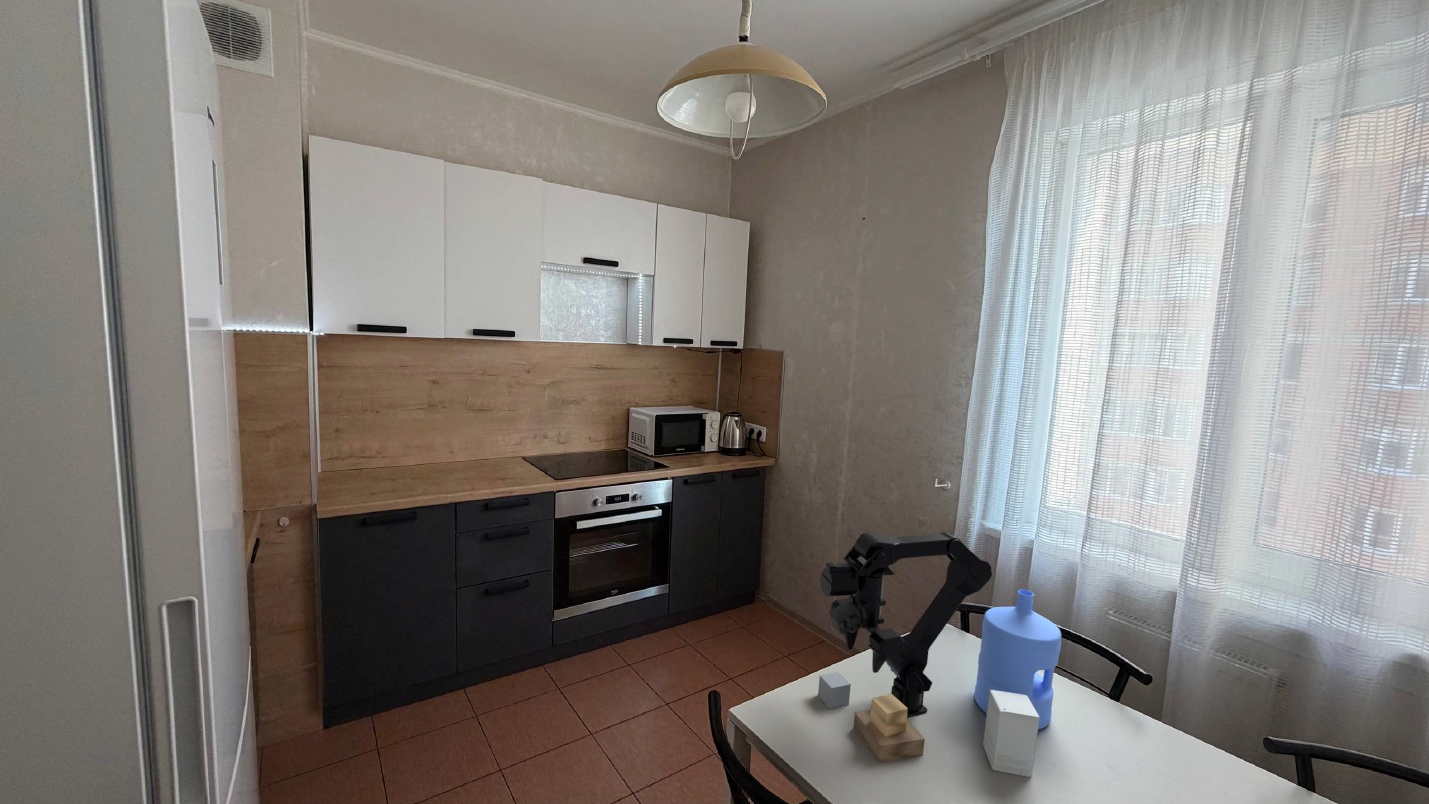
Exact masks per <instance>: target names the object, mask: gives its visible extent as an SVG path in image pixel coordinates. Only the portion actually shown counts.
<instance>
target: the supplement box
mask: <svg viewBox="0 0 1429 804" xmlns="http://www.w3.org/2000/svg"><path fill="white" fill-rule="evenodd" d="M1039 718H1040V717H1039V715H1038V714H1037V712H1036V710H1035V708H1034V707H1033V705H1032V703H1031V701H1030V700H1029V698H1028V696H1027V695H1022V694H1016V693H1010V692H1003V691H996V690H990V693H989V701H988V709H987V714H986V719H985V727H984V735H983V743H982V746H983V750H984V752H985V753H986V757H987V759H988V762H989V764H990V767H991V770H992V771H995V772H1001V773H1006V774H1010V775H1011V774H1012V775H1016V776H1023V777H1028V778H1031V777H1032V776H1033V770H1034V763H1035V754H1036V747H1037V741H1038V740H1037V739H1038V731H1039V729H1038V726H1039Z"/></svg>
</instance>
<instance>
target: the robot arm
mask: <svg viewBox="0 0 1429 804" xmlns="http://www.w3.org/2000/svg"><path fill="white" fill-rule="evenodd" d="M937 556H945V557H946V558H947V559H948V560H949V561H950V562H949V564H948V566H947V567H946V568H947V569H946V579H945V582H944V584H943V586H942V587H940V589H939V592H937V594H936V595H935V597H934V599H932V602H930V604H929V605H928V607H927V608H926V609H925V611H924V612H923V614H922V615H921V616H920V617H919V619H918V620H917V622H916V624H915V625H914V626H913V628H912V629H911V630H910V631H909V633H908V634H905V635H903V636H901V635H900V634H899V633H898V632H896V631H895V630H893V629H892V628H891V627H890V628H889V627H888V628H883V629H882V628H881V627H880V626H879V625H882V624H884V623H885V618H884V617H883V616H881V613H882V612H881V611H882V606H886V605H887V604H886V603H887V602H886V600H885V599H884V598H883V588H884V579H885V576H894V574H895V572H894V571H893V570H892V569H891V568H890V567H889V566H892V565H894V564H895V563H897V562H898V561H901V560H906V559H917V558H927V557H937ZM859 558H860V559H861V560H863V561H864V563H862V562H861V561H860V560H859ZM843 561H844V562H842V563H841V562H839V563H834V562H826V563H825V568H823V570H821V574H820V579H819V580H820V581H819V582H820V588H821V591H822V593H823V595H824V596H825V597H841V596H848V597H847V598H841V599H835V600H833V602H832V603H831V604H830V605H831V606H830V608H831V609H830V610H829V612H828V616H829V619H830V623H831V626H832V628H835V629H836V630H837V631H838V633H839V634H841V635H843V636H844V640H845V643H846V647H847V650H849V651H850V650H853V649H854V647H855V643H856V640H857V636H858V633H859V630H860V629H865V630H866V631H867V632H869V633H870V635H869V638H868V642H869V644H868V645H867V646H868V648H869V649H870V650H871V651H872V672H873V673H874V674H875V673H876V674H877V673H879V671H880V670H881V669H882V667H883V666H884V664H885V663H886V665H887V666H888V667H889V668H890V672H892V673H893V674H894V675H895V676H896V677H894V678H893V685H892V686H891V692H890V694H892V695H893V696H894V697H896V698H897V699H898V700H899V701H900V702H901V703H902V704H903V705H905V706H906V707H907V708H908V711H907V718H909V717H911V716H912V717H913V716H916V715H920V714H924V713H927V712H928V708H927V707H926V706H925V705H924V697H925V695H924V694H925V693H926V692H929V691H930V690H931V687H932V685H933V681H932V680H931V679H930V678H929V677H928V676H927V675H926V674H925V673H924V671H925V669H926V667H927V665H928V660H929V650H930V649H931V647H932V645H934V642H935V641H936V639H938V637H939V635H940V634H941V633H942V632H943V630H944V628H945V627H946V626H947V624H948V622H949V621H950V620H951V619H952V617H953V616H954V615H955V613H956V611H957V610H958V609H959V607H960V606H961V605H962V603H963V602H964V600H965V599H966V598H967V597H969V596H971V595H973V594H975V593H978V592H980V591H981V590H982V589H983V588H984V587H985V586H986V585H987V583H989V581H990V580H991V579H992V575H993V572H992V567H991V564H990V563H989V562H988V561H986V560H985V559H983V558H981V557H980V556H978V555H977V554H974V552H972V550H970V549H969V548H968V547H967V546H966V545H965V544H964V542H963V541H962V540H961V539H959V538H958V537H957V536H955V535H953V534H951V533H949V532H946V531H945V532H944V531H943V532H940V533H934V534H921V535H907V536H890V535H886V534H882V533H876V532H875V533H874V532H864V533H861V534H859V536H858V538H857V539H856V541H855V543H854V544H853V546H852V547H851V548H850V549H849V551H848V552H847V554H845V556H844V558H843Z"/></svg>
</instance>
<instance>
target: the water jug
mask: <svg viewBox="0 0 1429 804" xmlns="http://www.w3.org/2000/svg"><path fill="white" fill-rule="evenodd" d="M1034 597H1035V594H1034V592H1032V591H1030V590H1027V589H1019V590H1018V591H1017V597H1016V605H1015V606H996V607H992V608H990V609H988V610H986V611H985V613H984V617H983V621H982V627H981V631H982V633H981V634H982V635H981V642H980V650H979V654H978V660H977V661H978V662H977V663H978V664H977V666H978V667H977V676H976V683H975V685H974V692H973V693H974V699H975V702H976V704H977V706H978V707H979V708H980V709H981V710H982V711H983V712H984V713H985V714H986V715H987V709H988V701H989V693H990V690H996V691H1003V692H1010V693H1016V694H1022V695H1027V696H1028V698H1029V700H1030V701H1031V703H1032V705H1033V707H1034V708H1035V710H1036V712H1037V714H1038V715H1039V717H1040V718H1039V726H1038V730H1042V729H1045V728H1046V727H1047V726H1048V725H1050V722H1051V721H1052V714H1053V713H1052V708H1053V707H1052V706H1053V699H1054V694H1055V693H1054V688H1053V681H1054V680H1053V679H1054V672H1055V668H1056V666H1058V664H1059V658H1060V657H1059V656H1060V653H1061V648H1062V631H1061V630H1060V628H1059V627H1058V626H1057V625H1056V624H1055V623H1054V622H1052V621H1051V620H1049V619H1048V618H1046V617H1045V616H1042V615H1040V614H1039V613H1037V612H1035V611H1034V610H1033V604H1034ZM1039 671H1043V676H1042V675H1040V674H1039V673H1038V672H1039Z"/></svg>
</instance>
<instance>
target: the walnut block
mask: <svg viewBox="0 0 1429 804" xmlns="http://www.w3.org/2000/svg"><path fill="white" fill-rule="evenodd" d="M870 714H871V709H870V710H863V711H857V712H854V717H853V718H854V720H853V729H854V730H855V732H856V734H857V735H858V737H859V738H860V737H861V738H860V739H861V740H862V742H863V743H864V744H865V746H866V747H867V749H868V750H869V751H870V753H871V754H872V755H873V757H874V758H875V760H876V762H878V763H885V762H891V761H896V760H903V759H908V758H915V757H920V756H924V748H925V741H926V739H925V738H924V736H923V735H922V734H921V733H920V732H919V730H917V728H916V727H915V726H914V725H913V724H912V723H911V721H910V720H909V719H908V718H907V722H906V731H905V732H901V733H898V734H894V735H891V736H887V737H885V736H884V735H883V734H882V733H881V732H880V731H879V730H878V729H877V727H876V726H875V725H874V724H873V723H872V722H871V721H870Z"/></svg>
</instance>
